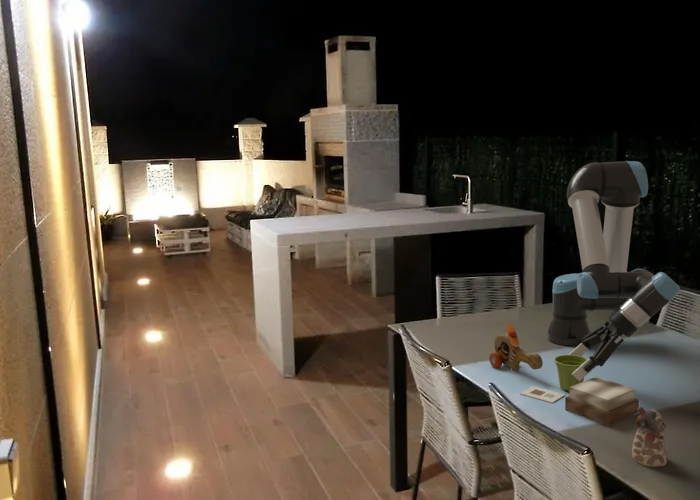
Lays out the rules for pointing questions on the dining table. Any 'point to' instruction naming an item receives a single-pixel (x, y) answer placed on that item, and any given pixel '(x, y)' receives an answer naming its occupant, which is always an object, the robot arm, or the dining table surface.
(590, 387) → the stacked square slabs
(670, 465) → the dining table surface
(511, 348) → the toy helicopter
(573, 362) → the plant pot
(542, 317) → the dining table surface
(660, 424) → the figurine
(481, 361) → the dining table surface
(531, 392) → the page
